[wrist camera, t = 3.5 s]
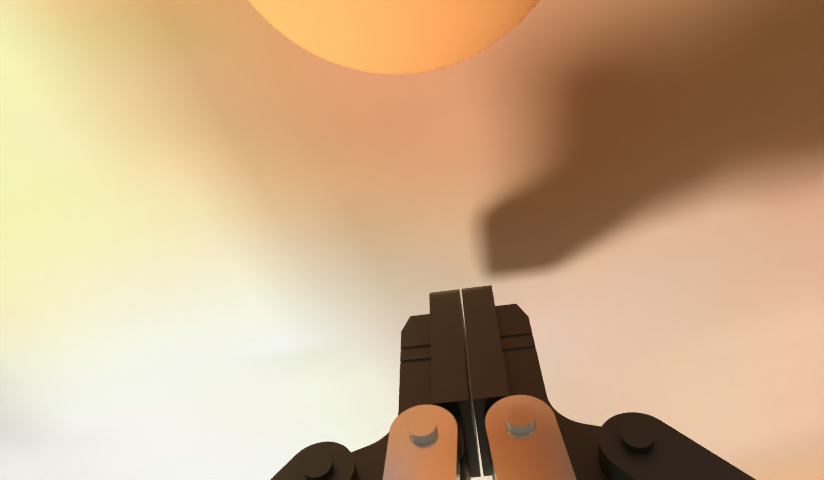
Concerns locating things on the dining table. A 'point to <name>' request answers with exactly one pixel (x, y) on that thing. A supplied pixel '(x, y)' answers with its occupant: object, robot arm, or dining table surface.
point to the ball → (394, 30)
